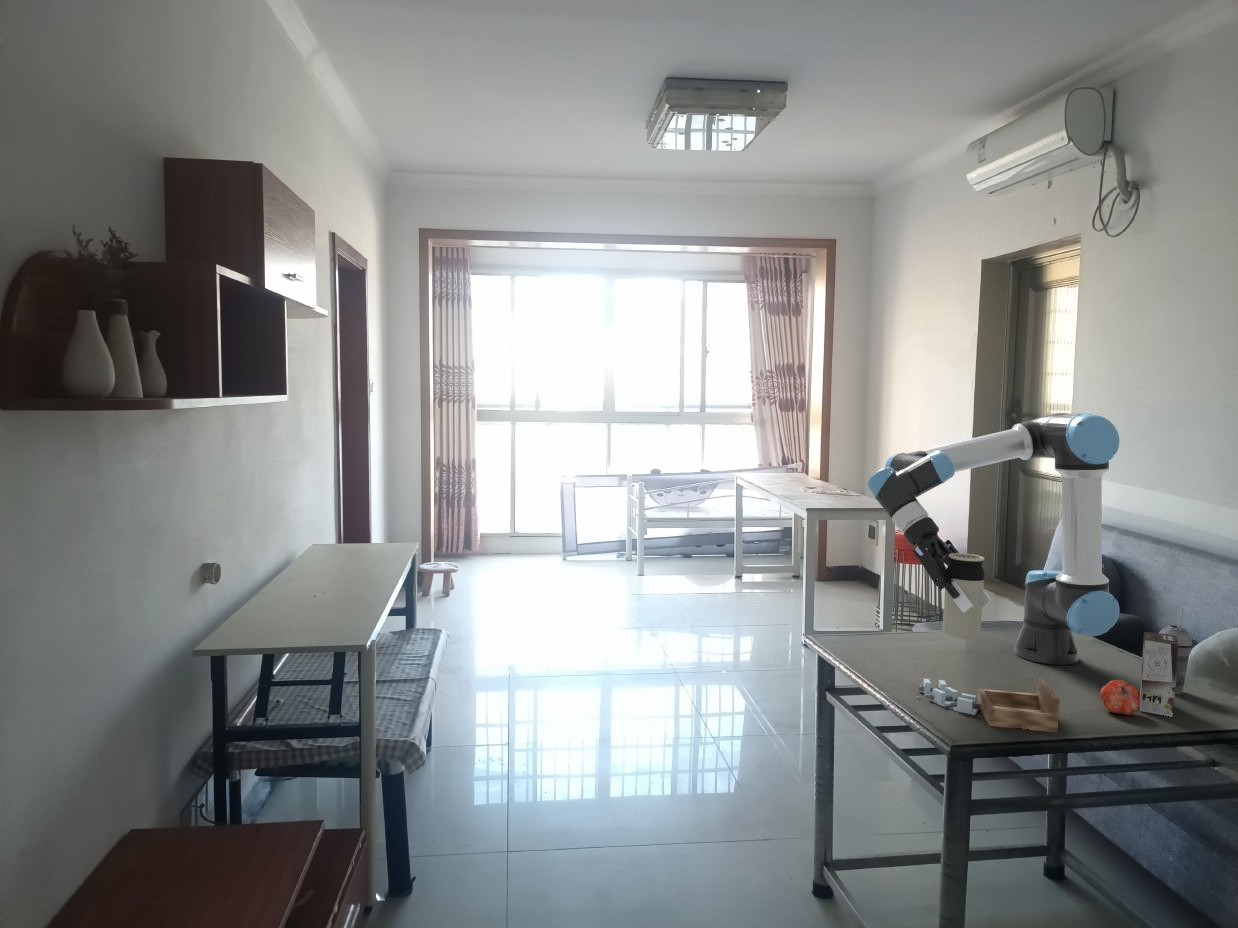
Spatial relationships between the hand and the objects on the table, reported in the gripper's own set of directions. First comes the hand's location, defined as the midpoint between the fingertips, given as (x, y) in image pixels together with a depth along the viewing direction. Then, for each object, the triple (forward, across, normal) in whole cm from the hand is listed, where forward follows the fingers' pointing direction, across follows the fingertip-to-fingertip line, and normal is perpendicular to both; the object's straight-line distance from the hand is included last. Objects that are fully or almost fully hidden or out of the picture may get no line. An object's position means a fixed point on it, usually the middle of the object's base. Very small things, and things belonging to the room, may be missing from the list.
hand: (977, 606), depth 188 cm
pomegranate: (+32, -19, +2) cm, 37 cm away
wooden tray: (+23, +3, -7) cm, 24 cm away
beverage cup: (+33, -44, +4) cm, 56 cm away
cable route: (+13, +5, -17) cm, 22 cm away
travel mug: (+3, 0, -8) cm, 8 cm away
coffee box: (+35, -28, +5) cm, 45 cm away
